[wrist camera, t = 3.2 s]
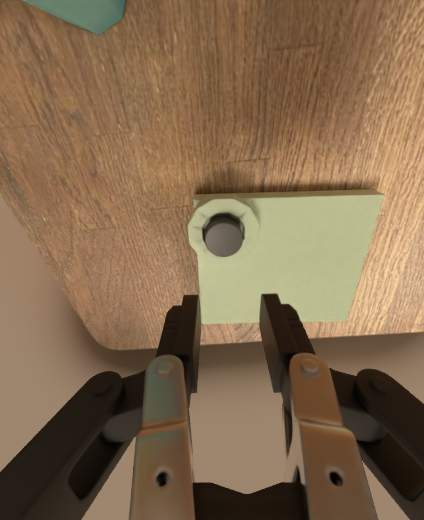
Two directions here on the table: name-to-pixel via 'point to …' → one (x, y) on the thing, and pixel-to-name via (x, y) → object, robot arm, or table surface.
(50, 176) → the table surface
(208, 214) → the scale
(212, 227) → the tare button
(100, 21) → the cup
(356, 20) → the table surface
